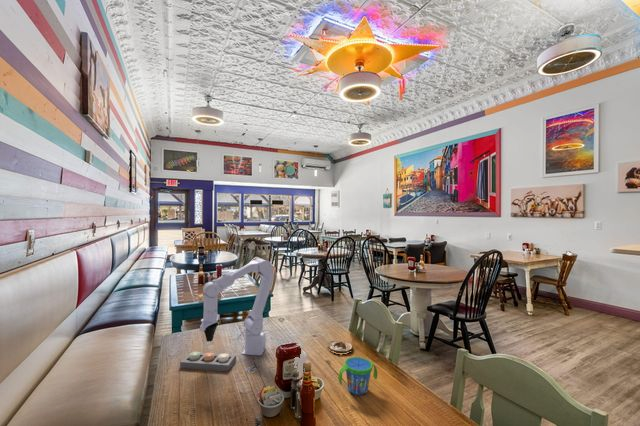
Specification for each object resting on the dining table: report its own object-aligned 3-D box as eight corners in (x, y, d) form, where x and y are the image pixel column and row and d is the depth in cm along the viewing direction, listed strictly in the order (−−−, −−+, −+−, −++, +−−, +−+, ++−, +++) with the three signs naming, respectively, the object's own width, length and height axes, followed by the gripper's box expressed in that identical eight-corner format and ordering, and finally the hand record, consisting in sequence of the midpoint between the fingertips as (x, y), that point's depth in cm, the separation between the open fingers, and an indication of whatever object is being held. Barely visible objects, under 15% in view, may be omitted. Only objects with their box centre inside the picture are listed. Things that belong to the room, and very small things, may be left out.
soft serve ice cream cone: (289, 394, 107) (290, 350, 107) (281, 382, 115) (282, 341, 115) (309, 388, 111) (310, 346, 111) (301, 377, 118) (302, 338, 118)
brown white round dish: (356, 345, 150) (357, 337, 150) (353, 359, 135) (354, 350, 135) (328, 341, 153) (328, 333, 153) (322, 355, 139) (322, 346, 139)
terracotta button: (216, 357, 129) (216, 352, 129) (211, 362, 125) (211, 357, 125) (206, 357, 129) (206, 352, 129) (201, 362, 125) (201, 357, 125)
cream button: (230, 358, 128) (230, 353, 128) (226, 363, 124) (226, 358, 124) (220, 358, 129) (220, 353, 129) (216, 363, 124) (216, 358, 124)
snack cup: (371, 380, 118) (372, 354, 118) (382, 396, 108) (383, 368, 108) (334, 384, 114) (334, 358, 114) (342, 401, 104) (343, 372, 104)
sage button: (201, 356, 130) (202, 351, 130) (196, 361, 125) (197, 356, 125) (192, 356, 130) (192, 351, 130) (187, 361, 125) (187, 356, 125)
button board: (236, 360, 131) (236, 354, 131) (228, 371, 122) (228, 365, 122) (191, 357, 132) (191, 352, 132) (180, 367, 123) (180, 362, 123)
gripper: (209, 304, 136) (208, 333, 136) (193, 315, 122) (192, 347, 122) (224, 305, 136) (223, 334, 136) (209, 316, 121) (208, 348, 121)
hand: (209, 340), depth 129 cm, fingers closed
